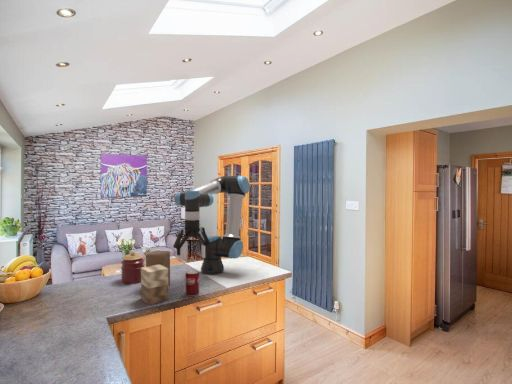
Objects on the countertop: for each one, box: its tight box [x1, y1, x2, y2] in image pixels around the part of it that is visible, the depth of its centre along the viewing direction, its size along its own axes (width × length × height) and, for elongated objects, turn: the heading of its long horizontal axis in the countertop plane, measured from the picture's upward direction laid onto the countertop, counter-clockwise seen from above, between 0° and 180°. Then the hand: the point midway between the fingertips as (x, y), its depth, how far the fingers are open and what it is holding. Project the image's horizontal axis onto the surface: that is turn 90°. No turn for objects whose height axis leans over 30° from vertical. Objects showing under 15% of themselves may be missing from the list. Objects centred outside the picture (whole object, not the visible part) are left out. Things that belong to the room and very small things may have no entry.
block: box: [145, 249, 171, 287], centre depth 169 cm, size 10×10×20 cm
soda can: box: [184, 269, 200, 297], centre depth 160 cm, size 7×7×12 cm
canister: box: [120, 251, 145, 285], centre depth 180 cm, size 13×13×18 cm
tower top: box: [140, 264, 168, 289], centre depth 152 cm, size 10×10×8 cm
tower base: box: [140, 283, 169, 306], centre depth 153 cm, size 10×10×8 cm
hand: (192, 259), depth 159 cm, fingers open, 13 cm apart
